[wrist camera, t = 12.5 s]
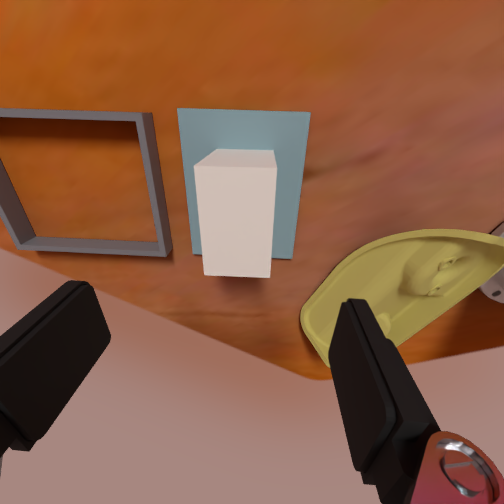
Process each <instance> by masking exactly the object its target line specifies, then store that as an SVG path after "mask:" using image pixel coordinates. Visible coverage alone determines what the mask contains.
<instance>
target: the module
mask: <svg viewBox="0 0 504 504" xmlns="http://www.w3.org/2000/svg"><path fill="white" fill-rule="evenodd" d="M194 174H195V184H196V195H197V205H198V215H199V225H200V235H201V246H202V256H203V266H204V275H213V276H236V277H259V278H270V269H271V254H272V239H273V224H274V208H275V193H276V178H277V165H276V160H275V155H274V150H244V149H216V150H215V151H213V152H212V153H211V154H209V155H208V156H206V157H205V158H204V159H202V160H201V161H200V162H198V163H197V164H195V165H194Z"/></svg>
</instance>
